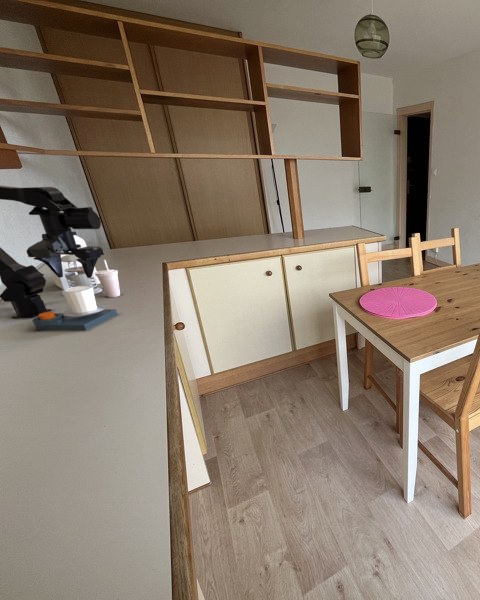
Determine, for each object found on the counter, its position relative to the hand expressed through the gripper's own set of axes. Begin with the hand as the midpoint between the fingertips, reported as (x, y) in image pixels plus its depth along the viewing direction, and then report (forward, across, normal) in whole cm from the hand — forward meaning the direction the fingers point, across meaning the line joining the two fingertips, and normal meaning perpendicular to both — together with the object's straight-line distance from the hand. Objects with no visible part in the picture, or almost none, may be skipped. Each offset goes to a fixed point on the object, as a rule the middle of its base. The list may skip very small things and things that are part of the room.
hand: (75, 277), depth 103 cm
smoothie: (+12, -3, +15) cm, 19 cm away
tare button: (+9, +1, -13) cm, 16 cm away
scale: (+12, +6, -9) cm, 16 cm away
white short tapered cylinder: (+8, +8, -8) cm, 14 cm away
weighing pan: (+8, +8, -8) cm, 14 cm away
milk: (+12, -28, +28) cm, 42 cm away
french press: (+12, -17, +18) cm, 28 cm away
